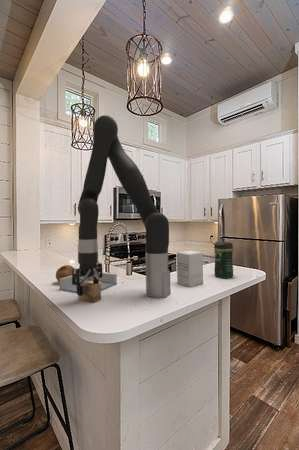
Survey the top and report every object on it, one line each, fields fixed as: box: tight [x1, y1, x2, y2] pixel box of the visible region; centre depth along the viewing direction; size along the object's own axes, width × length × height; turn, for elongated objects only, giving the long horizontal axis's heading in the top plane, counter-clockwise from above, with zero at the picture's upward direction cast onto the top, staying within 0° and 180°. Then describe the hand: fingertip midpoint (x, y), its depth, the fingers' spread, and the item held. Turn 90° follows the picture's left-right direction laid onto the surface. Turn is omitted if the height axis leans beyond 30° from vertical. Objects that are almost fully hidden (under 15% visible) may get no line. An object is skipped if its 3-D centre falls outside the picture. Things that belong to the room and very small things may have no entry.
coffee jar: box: [213, 240, 234, 279], centre depth 123 cm, size 10×8×19 cm
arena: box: [59, 271, 118, 294], centre depth 107 cm, size 18×18×5 cm
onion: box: [55, 264, 74, 283], centre depth 116 cm, size 10×9×10 cm
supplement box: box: [176, 250, 204, 288], centre depth 111 cm, size 9×9×15 cm
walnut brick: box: [77, 282, 102, 304], centre depth 90 cm, size 8×4×6 cm, turn 62°
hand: (88, 292), depth 91 cm, fingers open, 8 cm apart
